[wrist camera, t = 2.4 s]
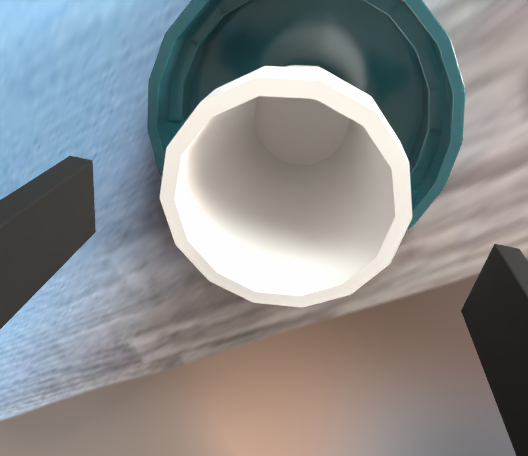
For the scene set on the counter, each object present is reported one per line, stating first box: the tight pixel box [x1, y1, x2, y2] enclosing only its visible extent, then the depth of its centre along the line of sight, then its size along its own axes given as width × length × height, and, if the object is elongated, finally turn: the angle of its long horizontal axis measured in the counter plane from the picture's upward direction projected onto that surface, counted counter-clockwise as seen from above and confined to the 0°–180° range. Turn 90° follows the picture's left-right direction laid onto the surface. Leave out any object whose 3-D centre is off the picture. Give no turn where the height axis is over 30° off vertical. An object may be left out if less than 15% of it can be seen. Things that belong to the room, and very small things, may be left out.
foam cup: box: [160, 65, 412, 308], centre depth 22 cm, size 10×9×13 cm
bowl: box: [148, 0, 465, 230], centre depth 26 cm, size 17×17×4 cm
